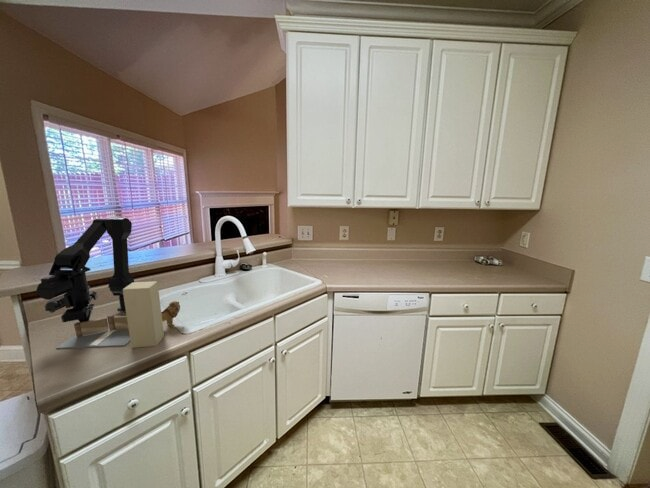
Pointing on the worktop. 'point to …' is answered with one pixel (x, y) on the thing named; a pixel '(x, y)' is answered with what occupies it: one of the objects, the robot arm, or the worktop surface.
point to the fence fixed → (117, 322)
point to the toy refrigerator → (143, 313)
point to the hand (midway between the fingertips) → (85, 326)
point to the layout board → (98, 339)
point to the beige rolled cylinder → (91, 327)
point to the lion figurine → (171, 312)
